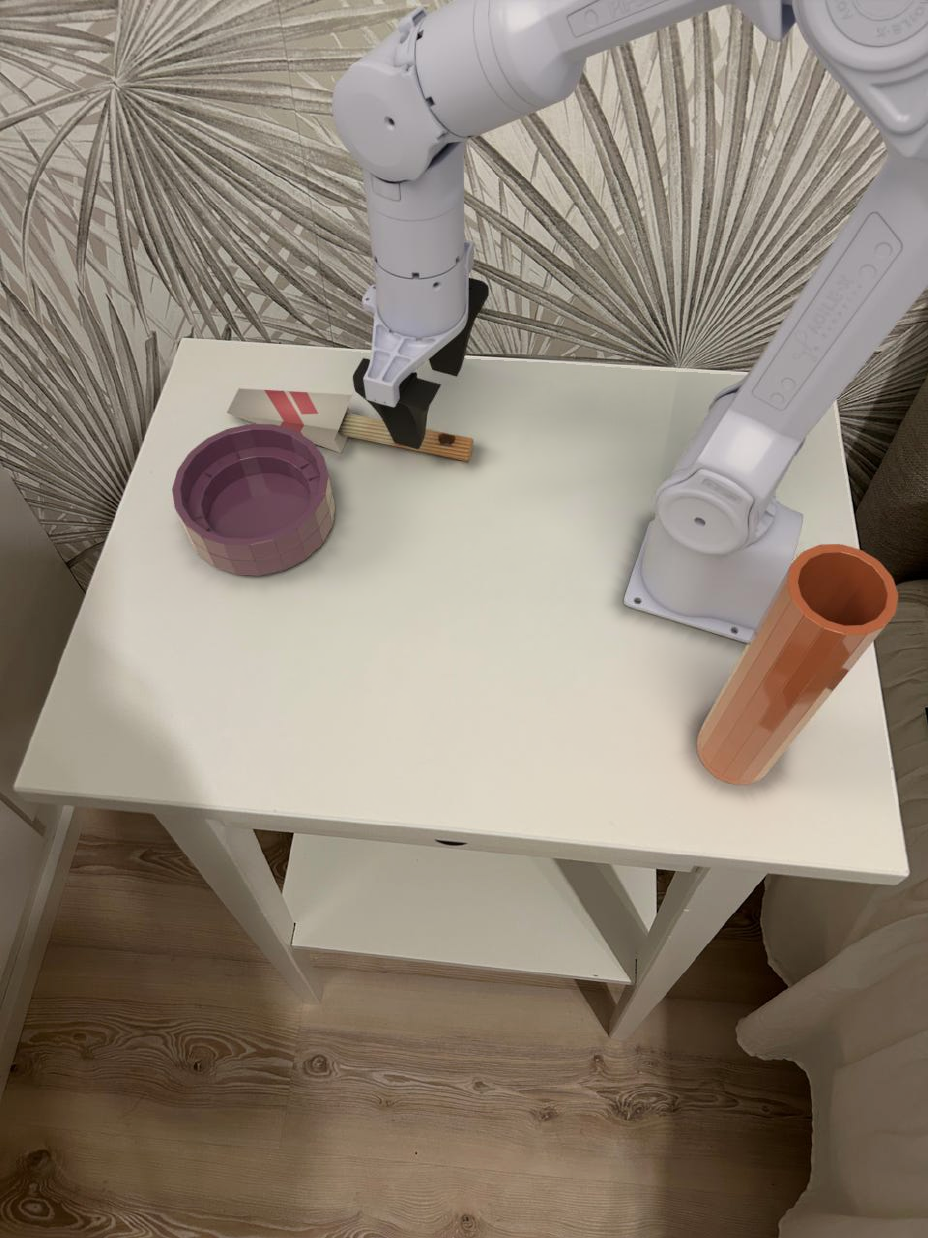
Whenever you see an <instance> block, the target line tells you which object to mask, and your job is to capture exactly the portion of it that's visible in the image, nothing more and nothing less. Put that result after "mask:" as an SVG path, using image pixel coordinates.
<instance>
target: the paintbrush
mask: <svg viewBox="0 0 928 1238" xmlns="http://www.w3.org/2000/svg"><path fill="white" fill-rule="evenodd" d="M352 398H353V394H348V393H347V394H346V393H345V394H344V393H327V392H312V391H311V392H310V391H292V390H279V389H278V390H277V389H275V390H273V389H259V388H241V387H240V388H239V387H238V389H237V391H236V393H235V395H234V397H233V399H232V401H231V403H230V405H229V407H228V409H227V411H226V414H228V415H231V416H233V417H237V418H240V419H242V420H246V421H248V422H251V423H253V424H274V425H278V426H281V427H285V428H288V429H292V430H295V431H297V432H298V433H300V434H302V435H303V436H305V437H306V438H308V439H309V440H311V441H312V442H313V443H314V444H315V446H319V447H322V448H325V449H328V450H330V451H333V452H336V453H339V454H343V452H344V449H345V446H346V443H347V441H348V438H352V439H353V438H354V439H358V440H364V441H369V442H374V443H376V444H377V443H378V444H383V445H388V446H392V447H397V448H402V449H407V450H411V451H416V452H420V453H426V454H429V455H430V454H431V455H435V456H441V457H445V458H450V459H455V460H459V461H460V460H461V461H464V462H469V461H470V460H471V457H472V452H473V446H474V439H473V438H472V437H467V436H463V435H457V434H453V433H449V432H444V431H439V430H438V431H437V430H433V429H429V428H426V433H425V437H424V440H423V442H422V444H421V446H420V448H419V449H414V448H411V447H407V446H404V445H400V444H397V443H394V441H393V439H392V437H391V435H390V433H389V431H388V429H387V427H386V425H385V423H384V422H383V420H382V419H381V418H375V417H369V416H365V415H360V414H356V413H352V411H351V409H350V408H349V405H350V404H351V400H352ZM444 444H445V445H446V444H447V445H450V446H444Z"/></svg>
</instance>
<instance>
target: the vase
mask: <svg viewBox="0 0 928 1238" xmlns="http://www.w3.org/2000/svg"><path fill="white" fill-rule="evenodd" d="M898 602H899V593H898V589H897V586H896V583H895V579H894V577H893V576H892V574H891V573H890V572H889V571H888V570H887V569H886V567H885V566H884V565H883V564H882V563H881V561H879V560H878V559H877V558H875V557H873V556H872V555H870V554H869V553H867V552H866V551H864V550H861V549H860V548H856V547H852V546H849V545H845V544H841V543H829V544H828V543H827V544H825V543H824V544H818V545H815V546H813V547H811V548H808V549H806V550H803V551H802V552H800V554H799V555H798V556H797V557H796V558H795V559H793V561H792V562H791V565H790V567H789V569H788V571H787V573H786V575H785V576H784V578H783V580H782V582H781V584H780V585H779V587H778V589H777V591H776V593H775V594H774V596H773V598H772V600H771V602H770V604H769V605H768V607H767V609H766V611H765V613H764V614H763V616H762V618H761V620H760V622H759V623H758V625H757V627H756V629H755V631H754V632H753V634H752V636H751V638H750V640H749V642H748V643H746V646H745V647H744V649H743V650H742V652H741V654H740V655H739V658H738V660H737V661H736V663H735V665H734V666H733V669H732V670H731V672H730V674H729V676H728V677H727V680H726V681H725V683H724V685H723V687H722V688H721V691H720V692H719V694H718V696H717V697H716V699H715V701H714V703H713V705H712V707H711V709H710V710H709V712H708V714H707V715H706V717H705V719H704V721H703V723H702V725H701V727H700V730H699V732H698V734H697V739H696V750H697V754H698V755H697V756H698V758H699V760H700V761H701V764H702V765H703V766H704V768H705V769H706V770H707V772H709V773H710V774H711V775H712V776H714V778H716V779H718V780H720V781H722V782H724V783H726V784H731V785H736V786H746V785H750V784H754V783H756V782H758V781H761V780H762V779H763V778H764V777H765V776H766V775H767V774H768V773H769V771H770V770H771V769H772V768H773V767H774V765H776V763H777V762H778V761H779V760H780V758H781V757H782V756H783V754H784V753H785V752H786V751H787V749H788V748H789V747H790V746H791V744H792V743H793V742H794V741H795V739H796V738H797V737H798V736H799V734H800V733H801V732H802V731H803V729H804V728H805V727H806V726H807V724H808V723H809V722H810V721H811V720H812V718H813V717H814V716H815V714H816V713H817V712H818V710H819V709H820V708H821V707H822V706H823V704H824V703H825V702H826V701H827V700H828V698H829V697H830V696H831V694H833V692H834V691H835V690H836V688H837V687H838V686H839V685H840V683H841V682H842V681H843V679H844V678H845V677H846V676H847V675H848V674H849V672H850V671H851V670H852V669H853V667H854V666H855V665H856V663H857V662H858V661H859V659H860V658H861V657H862V656H863V655H864V653H865V652H866V651H867V650H868V648H870V646H871V645H872V643H873V642H874V641H875V640H876V638H877V637H878V636H879V635H880V634H881V632H882V631H883V630H884V629H885V627H886V626H887V625H888V623H889V622H890V621H891V619H893V618H894V616H895V615H896V613H897V608H898Z"/></svg>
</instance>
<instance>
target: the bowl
mask: <svg viewBox="0 0 928 1238" xmlns="http://www.w3.org/2000/svg"><path fill="white" fill-rule="evenodd" d="M173 480H174V481H173V483H172V484H173V485H172V489H171V491H172V498H173V499H172V500H173V506H174V510H175V512H176V515H177V517H178V518H179V520H180V522H181V525H182V526H183V529H184V531H185V533H186V535H187V537H188V539H189V541H190V543H191V545H192V546H193V548H194V549H195V551H196V552H197V554H198V556H200V557H201V558H202V559H203V560H205V561H206V562H207V563H208V564H210V565H211V566H213V567H214V568H216V569H219V570H222V571H224V572H227V573H231V574H234V575H237V576H265V575H266V576H267V575H269V574H274V573H278V572H283V571H286V570H288V569H290V568H292V567H294V566H295V565H297V564H299V563H301V562H303V561H305V560H306V559H308V558H309V557H310V556H311V555H312V554H313V553H314V552H316V550H317V549H319V548H320V547H321V546H322V545H323V544H324V541H325V540H326V538H327V536H328V535H329V532H330V531H331V529H332V528H333V524H334V518H335V511H336V503H335V498H334V493H333V489H332V486H331V484H332V483H331V479H330V475H329V471H328V467H327V464H326V459H325V457H324V455H323V454H322V452H321V451H320V450H319V448H318V447H317V445H316V444H314V443H313V442H312V441H311V440H309V439H308V438H306V437H305V436H303V435H302V434H300V433H298V432H297V431H295V430H292V429H288V428H285V427H281V426H278V425H274V424H257V423H248V424H244V425H239V426H233V427H230V428H225V429H224V430H222V431H220V432H218V433H214V434H213V435H210V436H209V437H207V438H205V439H204V440H203V441H202V442H200V443H199V444H197V446H195V448H193V449H192V450H191V451H189V453H188V454H187V455H186V456H185V458H184V459H183V461H182V462H181V464H180V466H179V467H178V468H177V470H176V474H175V477H174V479H173Z"/></svg>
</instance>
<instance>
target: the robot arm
mask: <svg viewBox="0 0 928 1238" xmlns="http://www.w3.org/2000/svg"><path fill="white" fill-rule="evenodd" d="M727 5H732V6H735V7H736V8H737V9H738V10H739V11H740V12H741V13H742V14H743V15H744V17H745V18H747V19H748V20H749V22H751V23H752V25H754V27H756V29H758V30H759V31H760V32H761V33H762V34H763V36H765V38H767V39H768V40H770V41H772V42H776V43H781V42H782V41H783V40H784V38H785V37H786V36H787V35H788V33H789V32H790V31H791V30H792V28H793V27H794V26H795V24H796V25H797V28H798V30H799V33H800V34H801V36H802V38H803V40H804V42H805V43H806V45H807V46H808V48H809V50H810V51H811V52H812V54H813V55H814V56H815V58H816V59H817V60H818V61H819V63H820V64H821V65H822V66H823V68H824V69H825V70H826V71H827V72H828V73H829V75H831V77H832V78H833V79H834V81H835V82H836V83H837V84H838V85H839V86H840V88H842V89H843V91H844V92H845V94H846V95H848V97H849V98H850V99H851V100H852V101H853V102H854V103H855V105H856V106H857V107H858V108H859V109H860V111H861V112H862V113H863V114H864V115H865V116H866V117H867V119H868V120H869V121H870V122H871V123H872V125H873V126H874V127H875V128H876V129H877V130H878V131H879V134H880V136H881V139H882V141H883V143H884V146H885V148H886V151H887V154H888V156H887V158H886V159H885V161H884V162H883V164H882V165H881V167H880V169H879V170H878V172H877V173H876V175H875V176H874V178H873V180H872V181H871V182H870V185H869V186H868V187H867V189H866V191H865V192H864V193H863V195H862V197H861V198H860V200H859V201H858V203H857V205H856V206H855V207H854V209H853V210H852V212H851V214H850V215H849V217H848V218H847V220H846V222H845V223H844V224H843V226H842V228H841V229H840V231H839V233H838V234H837V235H836V237H835V239H834V240H833V241H832V244H831V245H830V247H829V248H828V249H827V251H826V252H825V254H824V255H823V257H822V259H821V261H820V262H819V264H818V265H817V267H815V270H814V271H813V273H812V274H811V276H810V278H809V279H808V280H807V282H806V284H805V285H804V286H803V288H802V290H801V292H800V293H799V295H798V296H797V298H796V299H795V301H794V303H793V304H792V306H791V308H790V309H789V310H788V312H787V313H786V315H785V316H784V318H783V320H782V321H781V322H780V324H779V326H778V328H777V329H776V331H775V332H774V334H773V335H772V337H771V338H770V340H769V342H768V343H767V345H766V346H765V348H764V349H763V350H762V353H761V354H760V355H759V357H758V358H757V360H756V362H754V363H753V365H752V366H751V368H750V370H749V371H748V373H747V374H746V376H744V377H742V379H741V380H740V381H738V382H736V383H734V384H731V385H729V386H726V387H725V388H723V389H722V390H721V391H719V392H717V394H716V395H715V396H714V398H713V399H712V401H711V402H710V404H709V405H708V411H707V414H706V415H705V417H704V419H703V420H702V422H701V423H700V425H699V427H698V428H697V430H696V431H695V433H694V435H693V437H691V439H690V441H689V443H688V444H687V446H686V448H685V449H684V451H683V453H682V454H681V456H680V457H679V459H678V461H677V462H676V464H675V466H673V469H672V470H671V472H670V473H669V475H668V477H667V478H664V480H663V481H662V483H661V484H660V485H659V486H658V488H657V490H655V493H654V497H653V504H652V505H653V509H654V514H655V515H654V519H652V520H651V521H649V523H648V526H647V529H646V532H645V535H644V537H643V541H642V543H641V546H640V549H639V552H638V554H637V558H636V561H635V563H634V567H633V570H632V573H631V576H630V578H629V582H628V585H627V588H626V591H625V594H624V597H623V604H624V605H625V606H626V607H628V608H631V609H635V610H638V611H642V612H643V613H648V614H651V615H654V616H657V617H660V618H663V619H666V620H670V621H673V622H676V623H680V624H683V625H686V626H690V627H692V628H696V629H699V630H703V631H704V632H705V631H706V632H709V633H712V634H716V635H719V636H721V637H726V638H728V639H731V640H735V641H737V642H742V643H745V644H747V643H748V642H749V640H750V638H751V636H752V634H753V632H754V631H755V629H756V627H757V625H758V623H759V622H760V620H761V618H762V616H763V614H764V613H765V611H766V609H767V607H768V605H769V604H770V602H771V600H772V598H773V596H774V594H775V593H776V591H777V589H778V587H779V585H780V584H781V582H782V580H783V578H784V576H785V575H786V573H787V571H788V569H789V567H790V566H791V564H792V563H793V561H794V557H795V553H796V551H797V548H798V545H799V540H800V536H801V533H802V529H803V523H804V514H803V513H801V512H800V511H797V510H794V509H792V508H790V507H788V506H787V505H785V504H783V503H781V502H780V501H778V499H777V490H778V488H779V487H780V485H781V482H782V481H783V479H784V477H785V475H786V473H787V472H788V470H789V468H790V466H791V464H792V462H793V460H794V459H795V457H796V456H797V455H798V453H799V452H800V451H801V449H802V448H803V446H804V444H805V442H806V439H807V437H808V435H809V434H810V433H811V432H812V430H813V429H814V428H815V427H816V425H817V424H818V423H819V421H820V420H821V419H822V418H823V417H824V416H825V414H826V413H827V412H828V410H829V409H830V408H831V407H832V406H833V404H834V403H835V402H836V401H837V399H838V398H839V397H840V396H841V394H842V393H843V392H844V391H845V389H847V387H848V386H849V384H851V382H852V381H853V379H854V378H855V377H856V376H857V374H858V373H859V372H860V371H861V369H863V367H864V366H865V365H866V363H867V362H868V360H869V359H870V358H871V357H872V356H873V355H874V353H875V352H876V351H877V350H878V348H879V347H880V346H881V345H882V343H883V342H884V341H885V340H886V338H887V337H888V336H889V335H890V333H891V332H892V331H893V330H894V329H895V327H897V325H898V323H900V321H901V320H902V319H903V317H904V316H905V315H906V314H907V313H908V311H909V310H910V309H911V308H912V307H913V305H914V304H915V303H916V301H917V300H918V299H919V298H920V296H921V295H922V294H923V292H925V290H926V289H927V288H928V0H451V1H448V2H447V3H445V4H443V5H442V6H440V7H438V8H436V9H435V10H433V11H432V12H430V13H428V11H427V9H426V8H425V7H424V6H422V5H420V6H418V7H416V8H415V9H413V10H412V11H410V12H408V13H407V14H406V15H405V16H404V17H402V18H401V19H400V20H399V21H398V24H397V27H396V29H394V30H393V31H392V32H391V33H389V34H388V35H387V36H385V38H384V39H382V40H381V41H380V42H379V43H377V44H376V45H375V46H374V47H373V48H371V50H369V51H368V52H367V53H366V54H364V55H363V56H362V57H360V59H359V60H357V61H355V62H353V63H351V65H350V66H349V68H348V69H347V70H346V72H345V73H344V75H342V76H341V77H340V78H339V80H338V81H337V83H336V85H335V87H334V89H333V93H332V99H331V108H332V109H331V110H332V117H333V121H334V126H335V129H336V131H337V133H338V135H339V138H340V140H341V142H342V144H343V145H344V147H345V148H346V150H347V152H348V154H350V155H351V157H352V158H353V159H354V160H355V161H356V163H358V164H359V166H361V171H362V179H363V187H364V188H363V189H364V197H365V198H364V199H365V205H366V206H365V207H366V214H367V224H368V233H369V241H370V251H371V259H372V268H373V276H374V284H371V285H370V286H369V287H368V288H367V290H366V291H365V293H364V295H363V296H362V298H361V305H362V309H363V310H364V311H366V312H368V313H371V314H374V315H373V316H374V317H373V328H372V336H371V337H372V338H371V349H370V359H369V358H366V357H363V358H362V359H361V361H360V362H359V364H358V366H357V367H356V369H355V370H354V372H353V374H352V383H353V388H354V392H355V393H356V394H358V396H360V397H361V398H363V399H364V400H365V401H366V402H367V403H368V404H369V405H370V406H371V407H372V408H373V409H374V410H375V411H376V413H377V414H378V415H379V417H380V419H381V420H383V422H384V423H385V425H386V427H387V429H388V431H389V433H390V435H391V437H392V439H393V441H394V443H397V444H400V445H404V446H407V447H411V448H414V449H419V448H420V446H421V444H422V442H423V440H424V437H425V433H426V429H427V423H428V422H427V421H428V414H429V410H430V407H431V404H432V403H433V401H434V399H435V397H436V396H437V394H438V392H439V390H440V389H441V387H442V384H440V383H438V382H434V381H430V380H426V379H422V378H420V377H418V372H417V371H416V370H418V369H419V367H421V366H422V365H423V364H425V363H426V362H427V361H428V363H429V365H430V367H431V370H432V371H435V372H438V373H442V374H445V375H449V376H453V377H455V378H456V377H458V375H459V374H460V372H461V369H462V367H463V364H464V360H465V358H466V357H465V356H466V353H467V349H468V344H469V341H470V338H471V337H470V336H471V334H472V330H473V327H474V324H475V321H476V319H477V316H478V315H479V314H480V312H481V311H482V309H483V307H484V306H485V304H486V301H487V299H488V298H489V296H490V287H489V285H488V284H487V283H486V282H485V281H483V280H481V279H477V278H473V277H470V273H471V272H472V270H473V268H474V266H475V242H474V241H470V240H466V239H465V154H466V153H467V148H468V147H467V142H468V141H471V140H472V139H475V138H477V137H479V136H482V135H484V134H486V133H489V132H491V131H494V130H495V129H499V128H501V127H503V126H505V125H509V124H510V123H513V122H516V121H517V120H520V119H523V118H525V117H527V116H529V115H532V114H534V113H537V112H539V111H542V110H544V109H546V108H548V107H552V106H553V105H555V104H558V103H560V102H563V101H565V100H567V99H568V98H569V97H570V96H571V95H572V94H573V93H574V92H575V90H576V89H577V87H578V85H579V82H580V81H581V77H582V75H583V73H584V68H585V66H586V62H587V58H590V57H593V56H595V55H598V54H601V53H603V52H606V51H609V50H611V49H614V48H617V47H619V46H622V45H624V44H627V43H629V42H633V41H635V40H638V39H640V38H642V37H645V36H647V35H651V34H653V33H655V32H659V31H660V30H664V29H666V28H669V27H671V26H674V25H676V24H677V25H678V24H679V23H681V22H684V21H687V20H690V19H692V18H695V17H697V16H700V15H702V14H705V13H708V12H711V11H713V10H716V9H718V8H721V7H724V6H727ZM636 601H637V602H639V603H636ZM732 631H735V633H734V632H732Z"/></svg>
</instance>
